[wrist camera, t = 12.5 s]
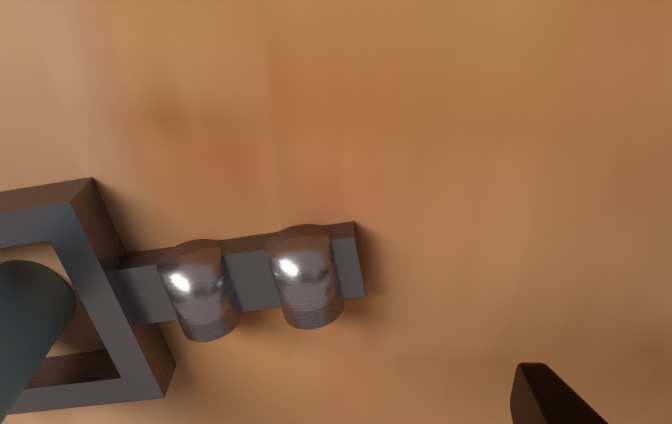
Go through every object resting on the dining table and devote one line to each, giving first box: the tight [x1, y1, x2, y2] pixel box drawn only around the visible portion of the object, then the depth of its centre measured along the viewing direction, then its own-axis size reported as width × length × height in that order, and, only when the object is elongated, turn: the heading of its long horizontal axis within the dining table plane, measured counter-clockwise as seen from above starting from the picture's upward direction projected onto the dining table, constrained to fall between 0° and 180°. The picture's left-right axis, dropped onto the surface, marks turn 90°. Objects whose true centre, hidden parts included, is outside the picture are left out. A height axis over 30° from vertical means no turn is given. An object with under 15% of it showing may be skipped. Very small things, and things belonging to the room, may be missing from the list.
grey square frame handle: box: [0, 177, 366, 415], centre depth 24 cm, size 30×10×3 cm, turn 100°
